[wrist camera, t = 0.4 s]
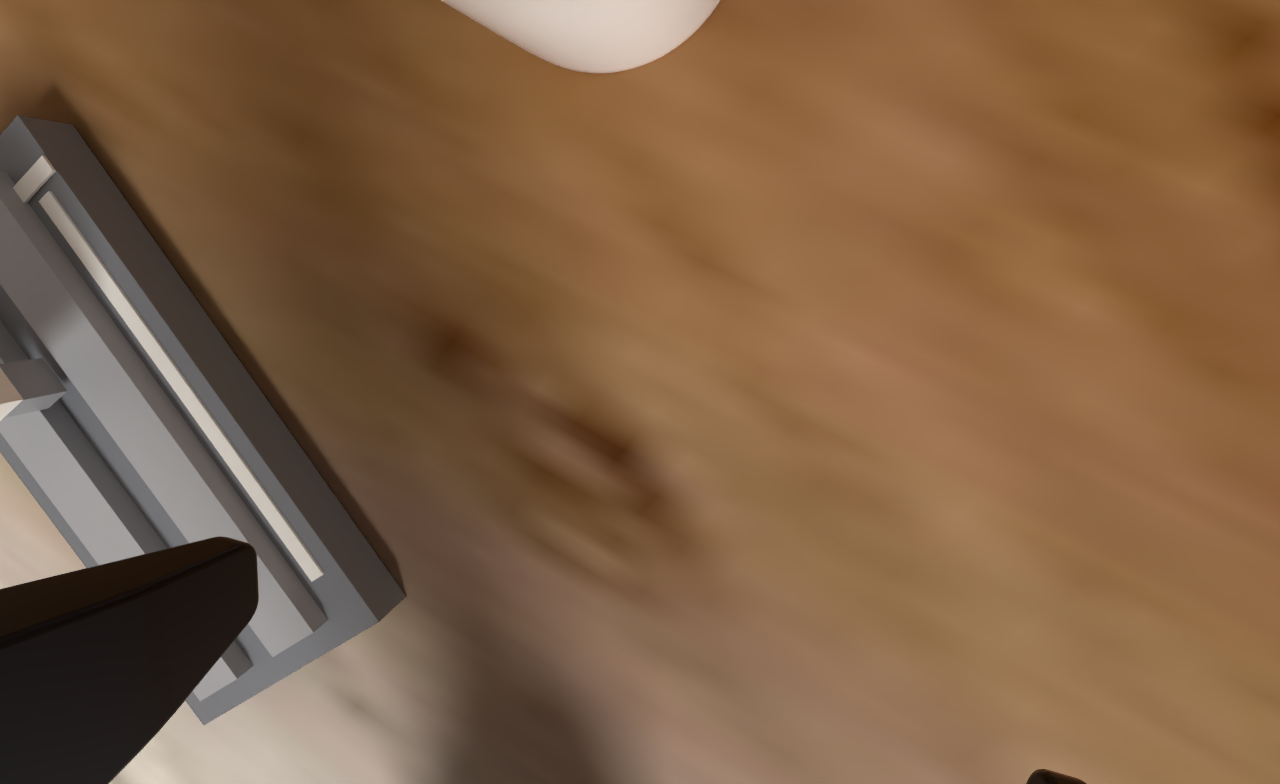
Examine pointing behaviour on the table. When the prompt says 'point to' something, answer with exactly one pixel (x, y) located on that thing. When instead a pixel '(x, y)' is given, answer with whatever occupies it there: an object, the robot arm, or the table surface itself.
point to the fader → (28, 387)
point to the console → (161, 419)
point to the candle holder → (591, 28)
